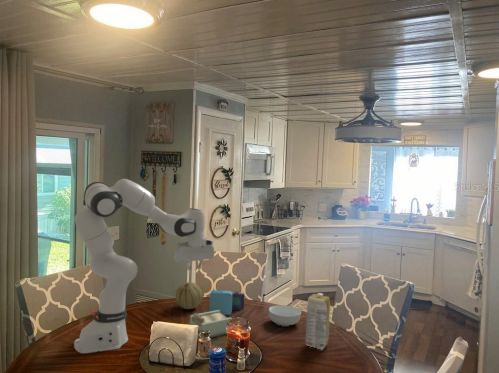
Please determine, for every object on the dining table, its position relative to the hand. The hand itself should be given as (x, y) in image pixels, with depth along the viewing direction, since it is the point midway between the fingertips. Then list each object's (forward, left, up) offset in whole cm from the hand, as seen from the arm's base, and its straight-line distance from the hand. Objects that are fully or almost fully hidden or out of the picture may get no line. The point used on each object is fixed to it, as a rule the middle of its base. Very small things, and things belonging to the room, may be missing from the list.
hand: (194, 269), depth 195 cm
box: (+6, -8, -29) cm, 31 cm away
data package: (+22, +10, -29) cm, 38 cm away
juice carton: (+40, -46, -29) cm, 68 cm away
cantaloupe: (+10, +25, -29) cm, 40 cm away
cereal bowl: (+44, -18, -29) cm, 56 cm away
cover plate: (+6, -8, -24) cm, 26 cm away
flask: (+33, +12, -29) cm, 46 cm away
